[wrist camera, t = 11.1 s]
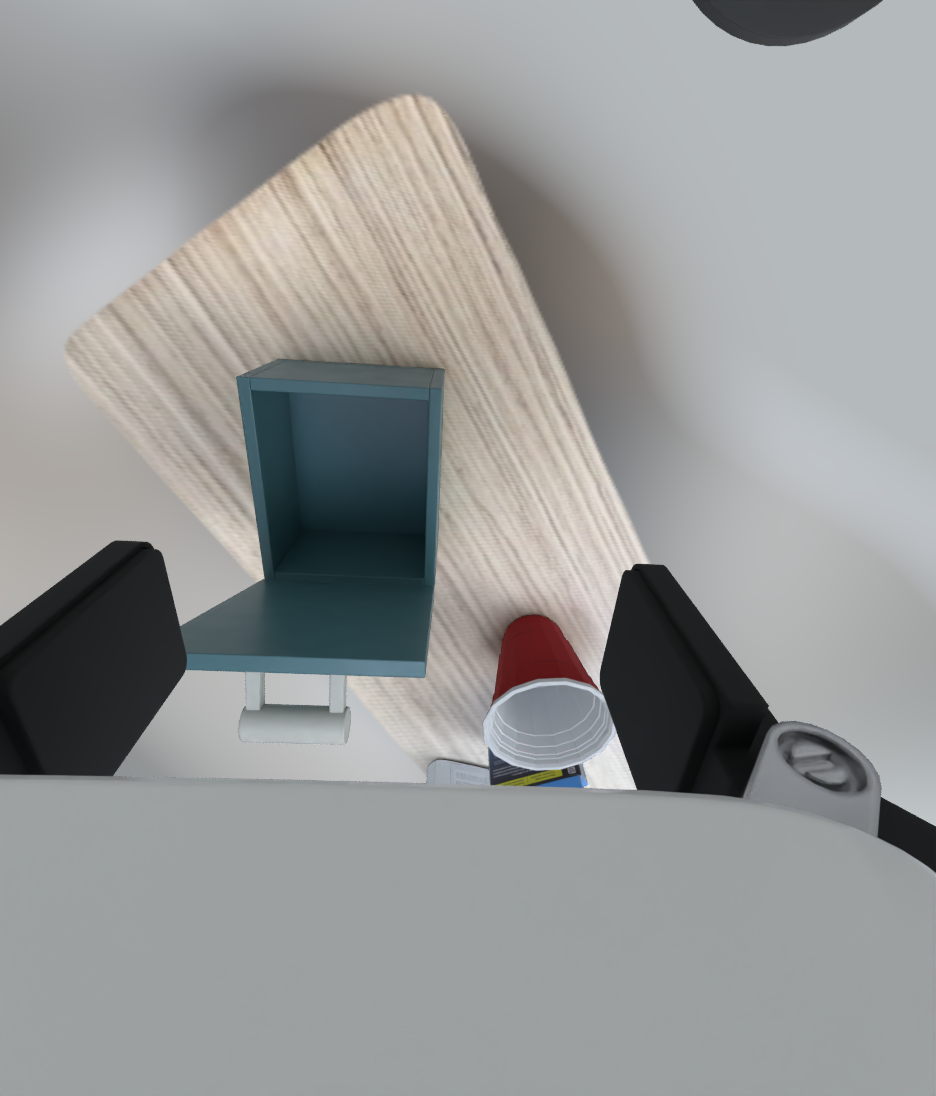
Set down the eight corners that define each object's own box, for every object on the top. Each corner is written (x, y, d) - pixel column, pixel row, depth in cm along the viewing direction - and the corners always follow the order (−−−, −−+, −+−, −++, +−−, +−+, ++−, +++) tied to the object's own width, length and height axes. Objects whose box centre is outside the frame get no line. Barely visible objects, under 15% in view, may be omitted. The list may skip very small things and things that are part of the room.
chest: (277, 358, 39) (235, 376, 31) (444, 368, 39) (441, 388, 32) (295, 532, 45) (264, 581, 38) (438, 539, 46) (434, 588, 38)
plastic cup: (469, 675, 53) (473, 773, 43) (486, 587, 48) (495, 674, 38) (571, 685, 54) (599, 784, 43) (597, 600, 49) (636, 688, 39)
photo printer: (422, 778, 60) (414, 888, 49) (432, 753, 58) (426, 862, 47) (504, 794, 62) (514, 905, 51) (516, 771, 60) (529, 880, 49)
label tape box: (496, 743, 58) (506, 850, 47) (484, 718, 56) (491, 823, 45) (571, 721, 56) (599, 826, 46) (562, 696, 55) (588, 798, 44)
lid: (135, 651, 22) (139, 762, 23) (425, 661, 23) (421, 769, 24) (262, 579, 37) (262, 647, 38) (434, 586, 38) (431, 653, 39)
